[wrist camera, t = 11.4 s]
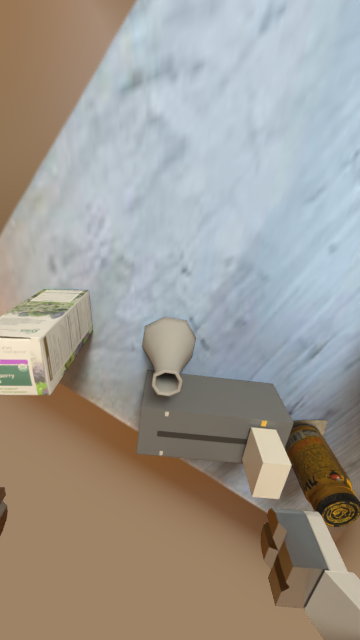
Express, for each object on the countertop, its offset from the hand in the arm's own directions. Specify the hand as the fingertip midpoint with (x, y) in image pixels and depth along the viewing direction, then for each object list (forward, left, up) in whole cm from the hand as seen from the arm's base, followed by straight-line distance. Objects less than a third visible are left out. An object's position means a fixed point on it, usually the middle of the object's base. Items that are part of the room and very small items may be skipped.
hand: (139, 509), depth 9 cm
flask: (+3, +8, -29) cm, 31 cm away
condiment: (-9, +31, -29) cm, 44 cm away
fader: (-3, +21, -21) cm, 30 cm away
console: (+1, +18, -29) cm, 34 cm away
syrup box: (+13, -1, -29) cm, 32 cm away
